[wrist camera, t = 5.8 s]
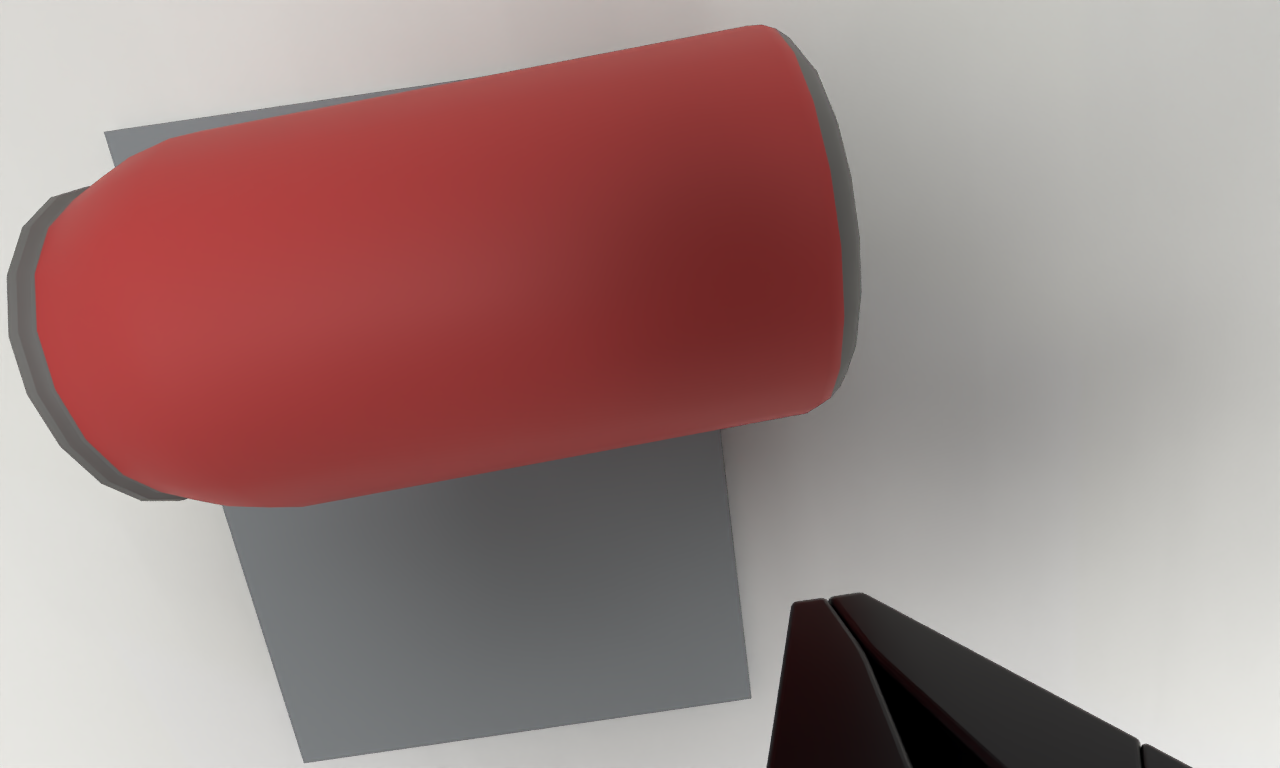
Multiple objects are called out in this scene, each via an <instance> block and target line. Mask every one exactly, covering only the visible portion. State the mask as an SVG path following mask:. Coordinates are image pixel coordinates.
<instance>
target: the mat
mask: <svg viewBox="0 0 1280 768" xmlns="http://www.w3.org/2000/svg"><path fill="white" fill-rule="evenodd" d="M478 78H479V77H478ZM472 79H473V78H472ZM465 80H468V79H465ZM458 81H463V80H458ZM458 81H451V82H444V83H437V84H430V85H423V86H416V87H410V88H403V89H396V90H389V91H382V92H375V93H368V94H361V95H354V96H348V97H341V98H334V99H327V100H320V101H313V102H306V103H299V104H292V105H286V106H279V107H272V108H265V109H258V110H251V111H244V112H237V113H230V114H224V115H217V116H210V117H203V118H196V119H189V120H182V121H175V122H168V123H162V124H155V125H148V126H141V127H134V128H127V129H120V130H113V131H107V132H104V134H105V137H106V140H107V143H108V147H109V150H110V153H111V156H112V159H113V162H114V166H115V167H117V166H118V165H119V164H121V163H122V162H123V161H125V160H126V159H127V158H129V157H131V156H133V155H135V154H137V153H140V152H142V151H144V150H146V149H148V148H150V147H152V146H154V145H157V144H159V143H161V142H163V141H165V140H167V139H170V138H174V137H178V136H182V135H186V134H190V133H194V132H198V131H203V130H208V129H213V128H218V127H224V126H229V125H234V124H239V123H244V122H250V121H255V120H260V119H265V118H270V117H276V116H281V115H286V114H291V113H296V112H302V111H307V110H312V109H317V108H322V107H328V106H333V105H338V104H343V103H348V102H354V101H359V100H364V99H369V98H374V97H380V96H385V95H390V94H395V93H400V92H406V91H411V90H416V89H421V88H427V87H432V86H437V85H442V84H447V83H453V82H458ZM222 506H223V509H224V512H225V515H226V519H227V522H228V525H229V528H230V531H231V534H232V538H233V541H234V544H235V547H236V550H237V553H238V556H239V560H240V563H241V566H242V569H243V572H244V575H245V579H246V582H247V585H248V588H249V591H250V594H251V597H252V601H253V604H254V607H255V610H256V613H257V616H258V620H259V623H260V626H261V629H262V632H263V635H264V638H265V642H266V645H267V648H268V651H269V654H270V657H271V661H272V664H273V667H274V670H275V673H276V676H277V679H278V683H279V686H280V689H281V692H282V695H283V698H284V702H285V705H286V708H287V711H288V714H289V717H290V720H291V724H292V727H293V730H294V733H295V736H296V739H297V742H298V746H299V749H300V752H301V755H302V758H303V761H304V763H309V762H316V761H323V760H330V759H336V758H343V757H350V756H357V755H364V754H371V753H378V752H385V751H392V750H399V749H406V748H412V747H419V746H426V745H433V744H440V743H447V742H454V741H461V740H468V739H475V738H482V737H488V736H495V735H502V734H509V733H516V732H523V731H530V730H537V729H544V728H551V727H558V726H564V725H571V724H578V723H585V722H592V721H599V720H606V719H613V718H620V717H627V716H633V715H640V714H647V713H654V712H661V711H668V710H675V709H682V708H689V707H696V706H703V705H709V704H716V703H723V702H730V701H737V700H744V699H751V691H750V683H749V674H748V666H747V657H746V649H745V640H744V632H743V623H742V615H741V606H740V597H739V589H738V580H737V572H736V563H735V555H734V546H733V538H732V529H731V520H730V512H729V503H728V495H727V486H726V478H725V469H724V461H723V452H722V444H721V435H720V429H719V430H714V431H708V432H703V433H697V434H692V435H687V436H681V437H676V438H670V439H665V440H660V441H654V442H649V443H644V444H638V445H633V446H627V447H622V448H617V449H611V450H606V451H601V452H595V453H590V454H584V455H579V456H574V457H568V458H563V459H558V460H552V461H547V462H541V463H536V464H531V465H525V466H520V467H514V468H509V469H504V470H498V471H493V472H488V473H482V474H477V475H471V476H466V477H461V478H455V479H450V480H445V481H439V482H434V483H428V484H423V485H418V486H412V487H407V488H402V489H396V490H391V491H385V492H380V493H375V494H369V495H364V496H358V497H353V498H348V499H342V500H337V501H332V502H326V503H321V504H315V505H310V506H305V507H238V506H224V505H222Z"/></svg>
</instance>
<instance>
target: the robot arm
mask: <svg viewBox="0 0 1280 768" xmlns="http://www.w3.org/2000/svg"><path fill="white" fill-rule="evenodd" d="M767 768H1192V767H1190V766H1188V765H1187V764H1185V763H1183V762H1181V761H1179V760H1177V759H1175V758H1173V757H1171V756H1170V755H1168V754H1166V753H1164V752H1162V751H1160V750H1158V749H1156V748H1155V747H1153V746H1151V745H1149V744H1143V745H1142V746H1141V745H1140V742H1139V740H1138V739H1137V738H1135V737H1133V736H1131V735H1130V734H1128V733H1126V732H1124V731H1122V730H1120V729H1118V728H1116V727H1115V726H1113V725H1111V724H1109V723H1107V722H1105V721H1103V720H1101V719H1100V718H1098V717H1096V716H1094V715H1092V714H1090V713H1088V712H1086V711H1085V710H1083V709H1081V708H1079V707H1077V706H1075V705H1073V704H1071V703H1070V702H1068V701H1066V700H1064V699H1062V698H1060V697H1058V696H1056V695H1054V694H1053V693H1051V692H1049V691H1047V690H1045V689H1043V688H1041V687H1039V686H1038V685H1036V684H1034V683H1032V682H1030V681H1028V680H1026V679H1024V678H1023V677H1021V676H1019V675H1017V674H1015V673H1013V672H1011V671H1009V670H1008V669H1006V668H1004V667H1002V666H1000V665H998V664H996V663H994V662H993V661H991V660H989V659H987V658H985V657H983V656H981V655H979V654H977V653H976V652H974V651H972V650H970V649H968V648H966V647H964V646H962V645H961V644H959V643H957V642H955V641H953V640H951V639H949V638H947V637H946V636H944V635H942V634H940V633H938V632H936V631H934V630H932V629H931V628H929V627H927V626H925V625H923V624H921V623H919V622H917V621H916V620H914V619H912V618H910V617H908V616H906V615H904V614H902V613H901V612H899V611H897V610H895V609H893V608H891V607H889V606H887V605H885V604H884V603H882V602H880V601H878V600H876V599H874V598H872V597H870V596H869V595H867V594H864V593H852V594H845V595H839V596H833V597H831V598H830V599H829V601H827V600H826V599H824V598H818V599H811V600H804V601H797V602H794V603H793V604H792V606H791V612H790V618H789V625H788V631H787V638H786V645H785V651H784V658H783V664H782V671H781V677H780V684H779V690H778V697H777V704H776V710H775V717H774V723H773V730H772V736H771V743H770V750H769V756H768V763H767Z"/></svg>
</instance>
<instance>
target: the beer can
mask: <svg viewBox="0 0 1280 768" xmlns="http://www.w3.org/2000/svg"><path fill="white" fill-rule="evenodd" d="M7 300H8V332H9V339H10V342H11V346H12V349H13V352H14V355H15V358H16V361H17V364H18V367H19V371H20V374H21V377H22V380H23V383H24V386H25V389H26V393H27V395H28V397H29V398H30V400H31V401H32V403H33V404H34V406H35V408H36V409H37V411H38V412H39V414H40V416H41V417H42V419H43V420H44V422H45V423H46V425H47V427H48V428H49V430H50V431H51V433H52V434H53V436H54V438H55V439H56V441H57V442H58V444H59V445H60V446H61V448H62V449H64V450H65V451H66V452H67V453H68V454H69V455H70V456H71V457H72V458H74V459H75V460H76V461H77V462H78V463H79V464H80V465H81V466H83V467H84V468H85V469H86V470H87V471H88V472H89V473H90V474H91V475H93V476H94V477H95V478H96V479H97V480H98V481H99V482H100V483H101V484H104V485H106V486H108V487H111V488H113V489H115V490H118V491H120V492H122V493H125V494H127V495H129V496H132V497H134V498H136V499H139V500H141V501H180V500H185V499H187V498H189V499H194V500H199V501H204V502H209V503H214V504H219V505H224V506H238V507H305V506H310V505H315V504H321V503H326V502H332V501H337V500H342V499H348V498H353V497H358V496H364V495H369V494H375V493H380V492H385V491H391V490H396V489H402V488H407V487H412V486H418V485H423V484H428V483H434V482H439V481H445V480H450V479H455V478H461V477H466V476H471V475H477V474H482V473H488V472H493V471H498V470H504V469H509V468H514V467H520V466H525V465H531V464H536V463H541V462H547V461H552V460H558V459H563V458H568V457H574V456H579V455H584V454H590V453H595V452H601V451H606V450H611V449H617V448H622V447H627V446H633V445H638V444H644V443H649V442H654V441H660V440H665V439H670V438H676V437H681V436H687V435H692V434H697V433H703V432H708V431H714V430H719V429H724V428H730V427H735V426H740V425H746V424H751V423H757V422H762V421H767V420H773V419H778V418H783V417H789V416H794V415H800V414H805V413H808V412H810V411H811V410H813V409H814V408H816V407H817V406H819V405H820V404H822V403H823V402H825V401H826V400H828V399H829V398H831V397H832V395H833V394H834V393H835V392H836V391H837V389H838V388H839V387H840V385H841V383H842V381H843V379H844V377H845V375H846V372H847V370H848V367H849V364H850V361H851V358H852V355H853V352H854V350H855V347H856V339H857V330H858V320H859V310H860V300H861V267H860V237H859V229H858V222H857V215H856V208H855V200H854V193H853V186H852V179H851V174H850V170H849V166H848V162H847V158H846V154H845V150H844V146H843V142H842V138H841V134H840V130H839V126H838V122H837V120H836V117H835V115H834V112H833V110H832V107H831V105H830V102H829V100H828V98H827V95H826V93H825V90H824V88H823V85H822V83H821V80H820V78H819V76H818V73H817V71H816V70H815V69H814V67H813V66H812V65H811V64H810V62H809V61H808V60H807V59H806V57H805V56H804V55H803V54H802V52H801V51H800V50H799V49H798V48H797V46H796V45H795V44H794V43H793V42H792V41H791V39H790V38H789V37H787V36H786V35H784V34H783V33H781V32H780V31H778V30H777V29H775V28H771V27H768V26H764V25H752V26H744V27H739V28H734V29H728V30H723V31H718V32H713V33H707V34H702V35H697V36H692V37H687V38H681V39H676V40H671V41H666V42H661V43H655V44H650V45H645V46H640V47H635V48H629V49H624V50H619V51H614V52H609V53H603V54H598V55H593V56H588V57H583V58H577V59H572V60H567V61H562V62H557V63H551V64H546V65H541V66H536V67H531V68H525V69H520V70H515V71H510V72H505V73H499V74H494V75H489V76H484V77H479V78H473V79H468V80H463V81H458V82H453V83H447V84H442V85H437V86H432V87H427V88H421V89H416V90H411V91H406V92H400V93H395V94H390V95H385V96H380V97H374V98H369V99H364V100H359V101H354V102H348V103H343V104H338V105H333V106H328V107H322V108H317V109H312V110H307V111H302V112H296V113H291V114H286V115H281V116H276V117H270V118H265V119H260V120H255V121H250V122H244V123H239V124H234V125H229V126H224V127H218V128H213V129H208V130H203V131H198V132H194V133H190V134H186V135H182V136H178V137H174V138H170V139H167V140H165V141H163V142H161V143H159V144H157V145H154V146H152V147H150V148H148V149H146V150H144V151H142V152H140V153H137V154H135V155H133V156H131V157H129V158H127V159H126V160H125V161H123V162H122V163H121V164H119V165H118V166H117V167H115V168H114V169H113V170H111V171H110V172H108V173H107V174H106V175H104V176H103V177H102V178H100V179H99V180H98V181H97V182H95V183H94V184H93V185H91V186H88V187H84V188H81V189H78V190H74V191H71V192H68V193H64V194H61V195H58V196H54V197H51V198H50V199H49V200H48V201H47V202H46V203H45V204H44V205H43V206H42V207H41V208H40V209H39V210H38V211H37V212H36V214H35V215H34V216H33V217H32V218H31V219H30V220H29V221H28V222H27V223H26V224H25V225H24V226H23V227H22V230H21V233H20V236H19V240H18V243H17V246H16V249H15V252H14V255H13V258H12V261H11V264H10V268H9V271H8V274H7Z"/></svg>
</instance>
